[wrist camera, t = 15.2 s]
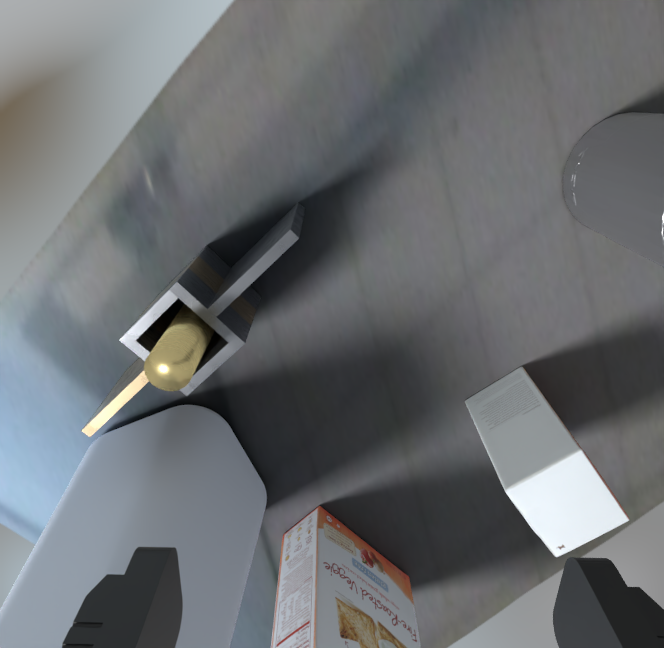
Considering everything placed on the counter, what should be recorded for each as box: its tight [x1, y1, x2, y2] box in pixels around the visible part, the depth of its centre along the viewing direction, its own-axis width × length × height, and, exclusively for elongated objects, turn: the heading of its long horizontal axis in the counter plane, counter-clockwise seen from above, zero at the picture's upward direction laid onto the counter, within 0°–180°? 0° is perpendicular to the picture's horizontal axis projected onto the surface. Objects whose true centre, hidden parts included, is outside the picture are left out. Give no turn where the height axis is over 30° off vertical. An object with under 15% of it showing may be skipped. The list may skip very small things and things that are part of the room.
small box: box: [465, 367, 629, 557], centre depth 46 cm, size 8×6×13 cm
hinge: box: [81, 202, 305, 437], centre depth 43 cm, size 22×6×10 cm, turn 133°
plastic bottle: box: [0, 405, 267, 648], centre depth 41 cm, size 15×15×28 cm
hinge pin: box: [144, 304, 215, 391], centre depth 41 cm, size 3×3×14 cm
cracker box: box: [271, 506, 421, 648], centre depth 49 cm, size 14×6×21 cm, turn 45°
